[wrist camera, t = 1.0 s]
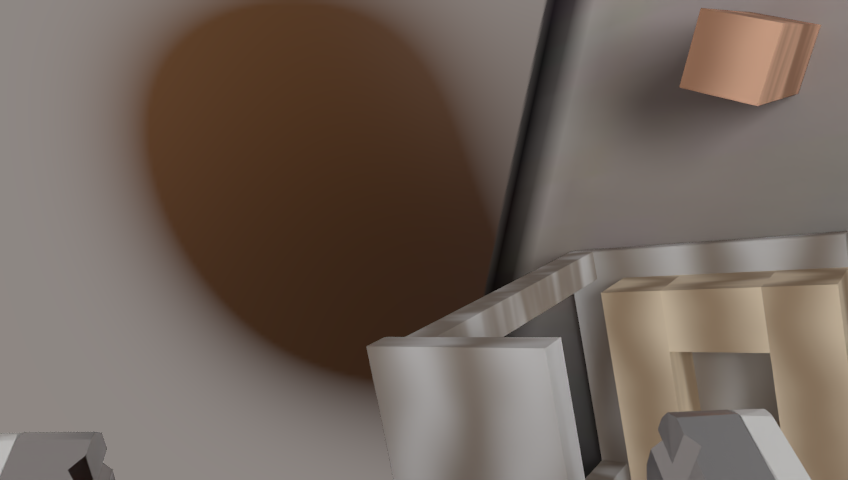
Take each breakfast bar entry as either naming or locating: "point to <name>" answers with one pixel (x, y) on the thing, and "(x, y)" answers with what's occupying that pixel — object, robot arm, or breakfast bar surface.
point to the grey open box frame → (626, 360)
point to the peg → (748, 56)
